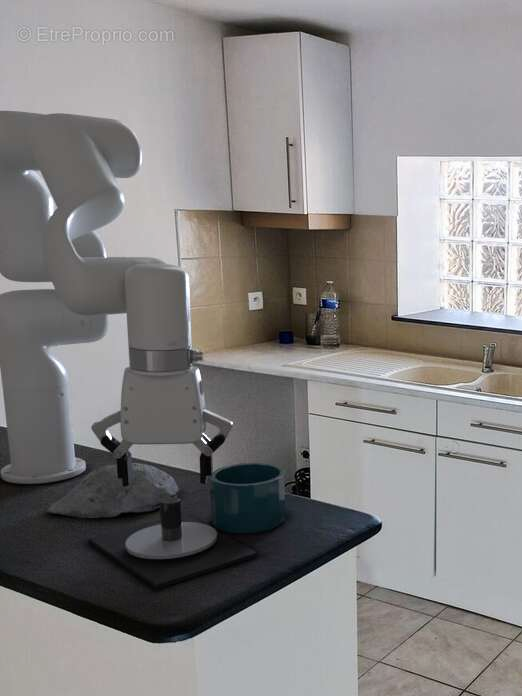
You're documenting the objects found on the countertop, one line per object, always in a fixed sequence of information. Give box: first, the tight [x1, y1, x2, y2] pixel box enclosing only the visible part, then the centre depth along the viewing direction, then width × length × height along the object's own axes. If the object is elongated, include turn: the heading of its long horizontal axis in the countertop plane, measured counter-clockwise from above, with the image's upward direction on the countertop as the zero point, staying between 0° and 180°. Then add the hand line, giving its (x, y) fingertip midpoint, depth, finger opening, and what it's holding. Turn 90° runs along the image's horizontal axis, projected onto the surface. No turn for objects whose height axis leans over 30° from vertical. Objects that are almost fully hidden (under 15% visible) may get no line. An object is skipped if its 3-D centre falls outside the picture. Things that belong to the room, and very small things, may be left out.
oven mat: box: [88, 513, 258, 590], centre depth 111 cm, size 20×14×1 cm
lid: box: [125, 496, 217, 559], centre depth 110 cm, size 12×12×7 cm
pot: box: [209, 462, 287, 534], centre depth 121 cm, size 11×11×8 cm
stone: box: [46, 462, 181, 519], centre depth 127 cm, size 18×8×15 cm
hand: (166, 481), depth 109 cm, fingers open, 9 cm apart
